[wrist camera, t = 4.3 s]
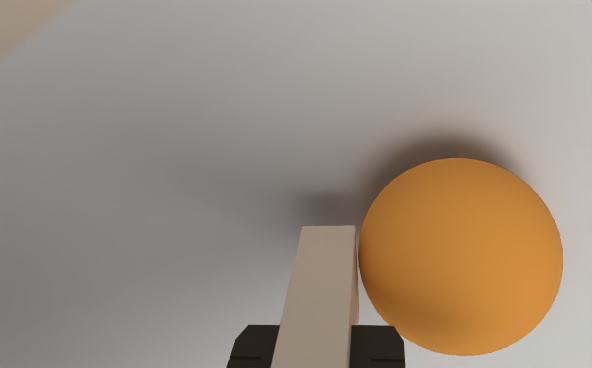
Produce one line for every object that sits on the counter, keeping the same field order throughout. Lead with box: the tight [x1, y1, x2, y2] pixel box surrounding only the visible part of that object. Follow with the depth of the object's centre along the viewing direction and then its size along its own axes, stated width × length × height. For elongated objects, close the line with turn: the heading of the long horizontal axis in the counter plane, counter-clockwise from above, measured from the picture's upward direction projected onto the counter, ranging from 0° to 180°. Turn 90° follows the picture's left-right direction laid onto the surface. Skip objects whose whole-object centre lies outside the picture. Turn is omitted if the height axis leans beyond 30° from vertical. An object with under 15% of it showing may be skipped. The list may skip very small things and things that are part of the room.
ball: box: [358, 158, 563, 356], centre depth 16 cm, size 6×6×6 cm
